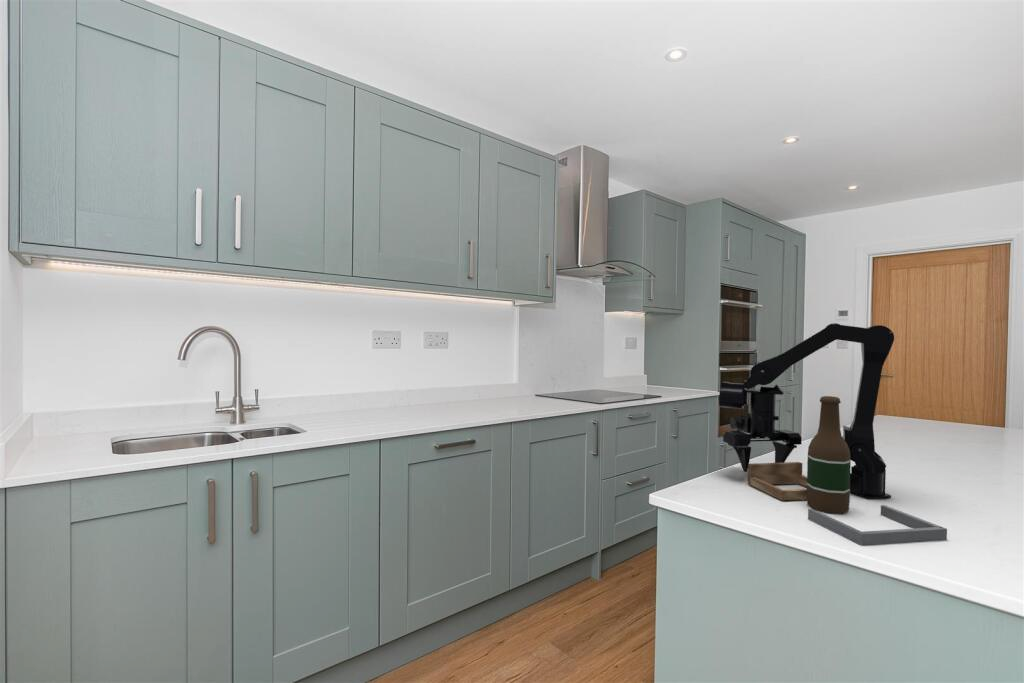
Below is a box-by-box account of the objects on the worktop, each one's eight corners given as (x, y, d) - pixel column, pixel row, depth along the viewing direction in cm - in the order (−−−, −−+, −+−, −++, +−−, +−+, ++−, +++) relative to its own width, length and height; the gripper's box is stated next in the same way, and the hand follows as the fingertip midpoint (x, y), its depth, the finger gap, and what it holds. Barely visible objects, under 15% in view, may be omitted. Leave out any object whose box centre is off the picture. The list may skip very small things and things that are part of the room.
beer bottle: (850, 517, 101) (853, 400, 100) (806, 510, 105) (808, 397, 105) (848, 506, 107) (851, 396, 107) (806, 499, 112) (809, 393, 111)
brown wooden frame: (798, 481, 124) (798, 462, 124) (837, 497, 112) (837, 475, 112) (747, 483, 122) (748, 463, 122) (782, 500, 110) (782, 477, 110)
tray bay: (884, 514, 103) (885, 505, 103) (946, 539, 90) (947, 528, 90) (807, 518, 100) (808, 509, 100) (861, 545, 88) (861, 534, 87)
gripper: (773, 405, 137) (772, 461, 137) (711, 406, 134) (710, 463, 134) (803, 412, 126) (802, 473, 126) (737, 413, 123) (735, 475, 123)
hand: (761, 470), depth 128 cm, fingers open, 9 cm apart
